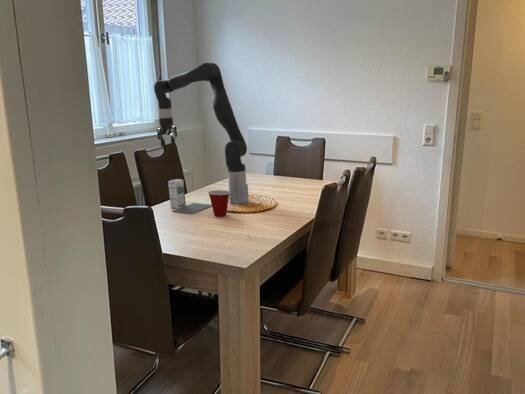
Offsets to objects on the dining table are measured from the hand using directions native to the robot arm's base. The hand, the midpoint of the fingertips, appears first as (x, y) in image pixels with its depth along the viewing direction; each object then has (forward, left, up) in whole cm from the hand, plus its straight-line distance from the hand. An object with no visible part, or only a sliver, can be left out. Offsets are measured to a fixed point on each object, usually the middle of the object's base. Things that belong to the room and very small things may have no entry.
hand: (168, 145), depth 273 cm
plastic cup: (-51, +26, -29) cm, 64 cm away
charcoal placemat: (-30, +20, -29) cm, 46 cm away
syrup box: (-20, +20, -30) cm, 41 cm away
